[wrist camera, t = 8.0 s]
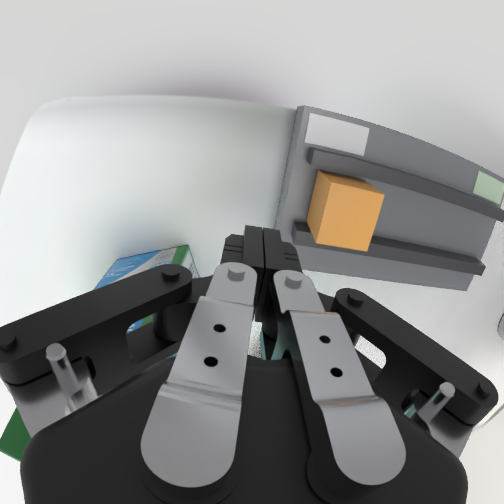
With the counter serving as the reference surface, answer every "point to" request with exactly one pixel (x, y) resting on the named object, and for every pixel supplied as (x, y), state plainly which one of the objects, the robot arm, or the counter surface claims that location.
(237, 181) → the counter surface
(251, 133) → the counter surface
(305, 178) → the switch plate
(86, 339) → the robot arm
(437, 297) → the counter surface
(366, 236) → the switch knob
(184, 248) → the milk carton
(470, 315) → the counter surface
